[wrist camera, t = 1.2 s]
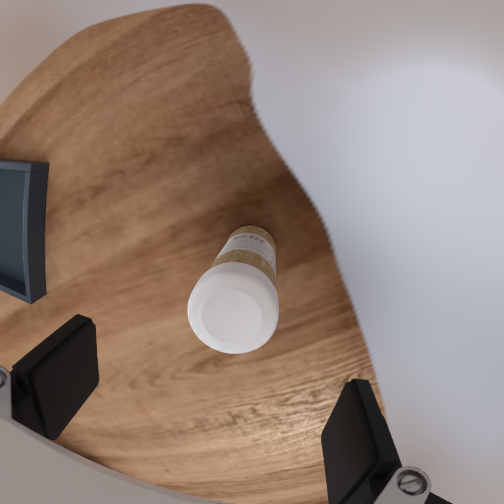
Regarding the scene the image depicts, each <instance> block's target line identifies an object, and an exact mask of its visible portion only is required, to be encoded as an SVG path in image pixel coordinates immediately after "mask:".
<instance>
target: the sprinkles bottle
mask: <svg viewBox="0 0 504 504" xmlns="http://www.w3.org/2000/svg"><path fill="white" fill-rule="evenodd" d="M275 256H276V245H275V242H274V240H273V238H272V236H271V235H270V234H269V233H268V232H267V231H266V230H264V229H262V228H260V227H256V226H244V227H241V228H239V229H237V230H235V231H234V232H233V233H232V234H231V235H230V236H229V238H228V240H227V242H226V245H225V246H224V248H223V249H222V250H221V252H220V253H219V255H218V256H217V258H216V259H215V261H214V263H213V264H212V266H211V268H210V269H209V270H208V271H207V272H205V273H204V274H203V275H202V277H201V278H200V279H199V281H198V282H197V284H196V286H195V287H194V289H193V291H192V293H191V295H190V298H189V301H188V309H187V311H188V319H189V322H190V325H191V327H192V329H193V331H194V332H195V334H196V335H197V336H198V337H199V339H200V340H201V341H203V342H204V343H205V344H206V345H208V346H209V347H211V348H213V349H215V350H218V351H221V352H225V353H231V354H240V353H246V352H250V351H253V350H255V349H257V348H259V347H261V346H262V345H263V344H265V343H266V342H267V341H268V340H269V339H270V337H271V336H272V335H273V333H274V331H275V329H276V326H277V322H278V311H279V304H278V295H277V292H276V289H275V287H276V258H275Z"/></svg>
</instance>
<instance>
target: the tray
mask: <svg viewBox="0 0 504 504" xmlns="http://www.w3.org/2000/svg"><path fill="white" fill-rule="evenodd" d="M48 169H49V163H42V162H32V161H20V160H8V159H0V290H2V291H4V292H6V293H8V294H10V295H12V296H14V297H16V298H18V299H21V300H23V301H25V302H27V303H29V304H32V303H34V302H36V301H37V300H39V299H40V298H42V297H43V296H45V295H46V284H45V260H44V228H45V204H46V190H47V179H48Z"/></svg>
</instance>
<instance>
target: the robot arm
mask: <svg viewBox="0 0 504 504" xmlns="http://www.w3.org/2000/svg"><path fill="white" fill-rule="evenodd" d="M12 368H13V370H12V371H11V372H9V371H8V370H7V369H6V368H4V367H2V366H0V504H233V503H227V502H222V501H217V500H212V499H207V498H202V497H198V496H194V495H190V494H186V493H182V492H178V491H174V490H171V489H167V488H164V487H160V486H157V485H154V484H151V483H148V482H145V481H142V480H139V479H136V478H133V477H130V476H128V475H125V474H122V473H120V472H117V471H114V470H112V469H109V468H107V467H105V466H102V465H100V464H97V463H95V462H93V461H91V460H88V459H86V458H84V457H82V456H80V455H78V454H76V453H74V452H71V451H69V450H67V449H65V448H64V447H62V446H60V445H58V444H56V443H54V442H52V441H51V440H56V439H57V438H58V437H59V435H60V434H61V433H62V431H63V430H64V429H65V427H66V426H67V425H68V423H69V422H70V421H71V419H72V418H73V417H74V415H75V414H76V413H77V411H78V410H79V409H80V408H81V406H82V405H83V404H84V402H85V401H86V400H87V398H88V397H89V396H90V395H91V393H92V392H93V391H94V389H95V388H96V387H97V385H98V383H99V371H98V359H97V344H96V326H95V324H94V323H93V322H92V319H91V318H88V317H85V316H82V315H80V314H77V315H75V316H74V317H73V318H71V319H70V320H69V321H67V322H66V323H65V324H64V325H62V326H61V327H60V328H59V329H57V330H56V331H55V332H54V333H52V334H51V335H50V336H49V337H47V338H46V339H45V340H44V341H42V342H41V343H40V344H39V345H37V346H36V347H35V348H34V349H33V350H31V351H30V352H29V353H28V354H26V355H25V356H24V357H23V358H22V359H20V360H19V361H18V362H17V363H16V364H15V365H13V366H12ZM321 442H322V450H323V457H324V466H325V474H326V482H327V491H328V500H329V504H452V503H450V502H447V501H446V500H444V499H442V498H440V497H439V496H437V495H435V494H433V493H431V492H430V489H431V480H430V478H429V477H428V475H427V474H426V473H425V472H424V471H422V470H421V469H419V468H416V467H413V466H405V467H402V464H401V462H400V459H399V456H398V453H397V450H396V448H395V445H394V442H393V439H392V437H391V434H390V431H389V429H388V426H387V423H386V421H385V418H384V417H383V416H382V414H381V411H380V408H379V406H378V403H377V401H376V398H375V396H374V393H373V390H372V388H371V385H370V383H369V381H368V380H363V379H352V380H351V381H350V382H347V383H346V384H345V386H344V388H343V390H342V392H341V394H340V397H339V399H338V401H337V403H336V405H335V407H334V409H333V411H332V413H331V415H330V417H329V419H328V421H327V423H326V425H325V427H324V429H323V431H322V435H321Z"/></svg>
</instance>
